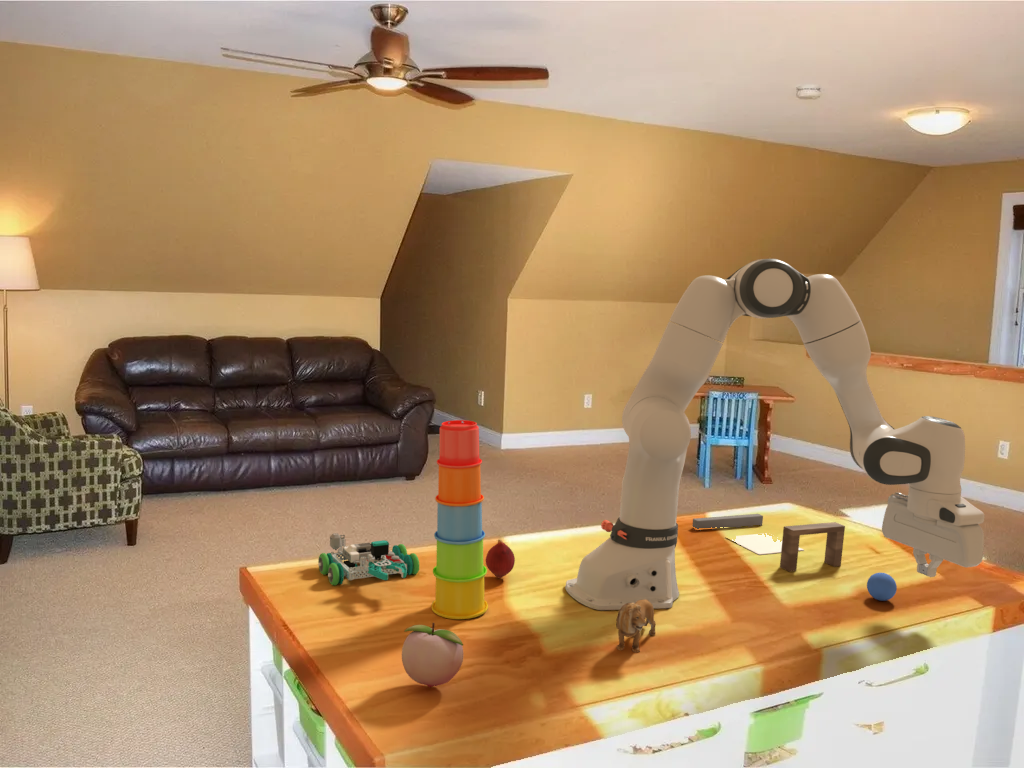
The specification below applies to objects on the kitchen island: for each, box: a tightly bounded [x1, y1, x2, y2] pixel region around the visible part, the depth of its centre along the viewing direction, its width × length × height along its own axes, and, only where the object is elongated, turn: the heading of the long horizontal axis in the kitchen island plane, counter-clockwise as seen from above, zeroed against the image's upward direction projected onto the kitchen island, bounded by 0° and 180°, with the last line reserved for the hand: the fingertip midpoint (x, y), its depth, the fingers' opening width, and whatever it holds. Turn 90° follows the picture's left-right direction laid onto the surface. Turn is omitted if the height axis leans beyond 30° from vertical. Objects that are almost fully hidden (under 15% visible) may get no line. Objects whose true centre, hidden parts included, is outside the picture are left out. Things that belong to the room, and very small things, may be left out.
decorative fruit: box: [401, 622, 464, 688], centre depth 127 cm, size 9×8×10 cm
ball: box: [866, 572, 898, 602], centre depth 173 cm, size 6×6×6 cm
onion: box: [485, 538, 516, 579], centre depth 174 cm, size 6×6×8 cm
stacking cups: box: [431, 419, 489, 620], centre depth 156 cm, size 10×10×35 cm
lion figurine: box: [615, 599, 656, 653], centre depth 147 cm, size 15×5×9 cm, turn 160°
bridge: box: [779, 521, 846, 572], centre depth 191 cm, size 3×14×9 cm, turn 113°
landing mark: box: [731, 532, 805, 556], centre depth 206 cm, size 13×13×1 cm
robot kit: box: [317, 532, 420, 586], centre depth 170 cm, size 19×25×9 cm
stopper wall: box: [691, 513, 764, 529], centre depth 219 cm, size 20×2×2 cm, turn 113°
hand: (926, 574), depth 164 cm, fingers closed
